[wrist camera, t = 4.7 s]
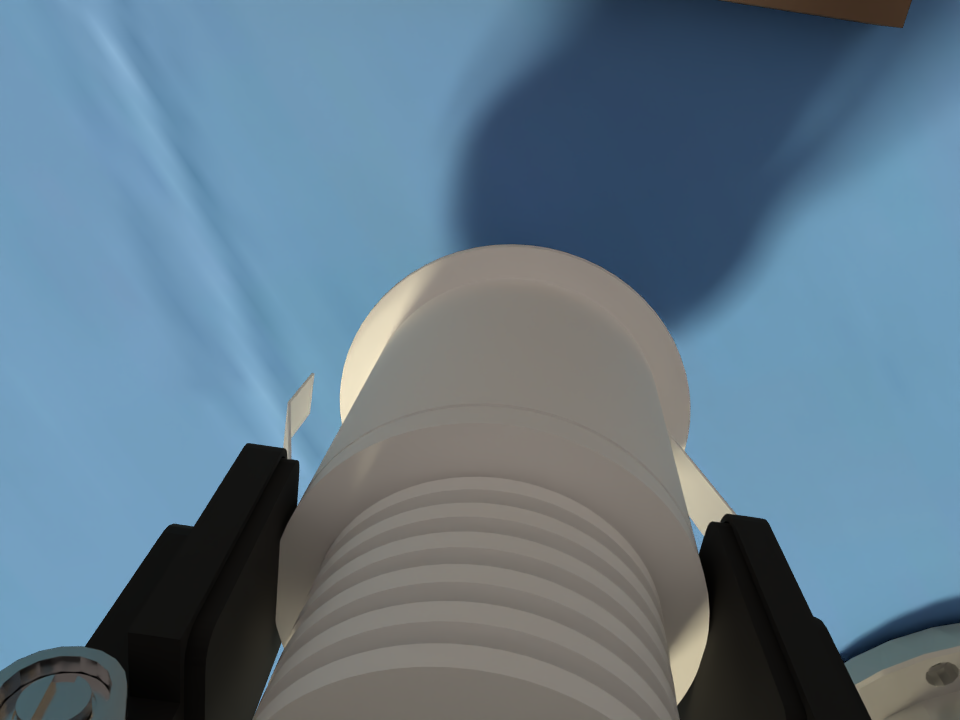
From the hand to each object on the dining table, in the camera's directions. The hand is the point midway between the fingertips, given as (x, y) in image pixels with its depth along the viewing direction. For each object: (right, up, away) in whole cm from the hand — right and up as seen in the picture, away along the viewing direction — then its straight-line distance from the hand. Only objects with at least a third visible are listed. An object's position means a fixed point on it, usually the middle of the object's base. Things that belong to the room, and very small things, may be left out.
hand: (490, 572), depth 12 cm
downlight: (0, +2, +5) cm, 6 cm away
